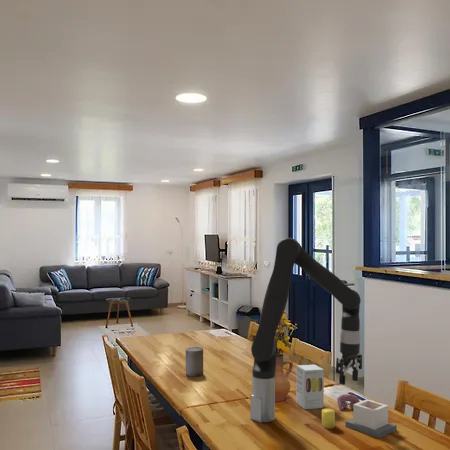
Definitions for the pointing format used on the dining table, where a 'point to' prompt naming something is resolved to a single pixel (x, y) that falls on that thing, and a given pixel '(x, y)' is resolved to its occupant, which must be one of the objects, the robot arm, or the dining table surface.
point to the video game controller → (345, 398)
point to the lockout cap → (328, 418)
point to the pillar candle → (194, 361)
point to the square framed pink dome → (371, 419)
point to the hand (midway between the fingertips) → (348, 382)
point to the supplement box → (310, 386)
